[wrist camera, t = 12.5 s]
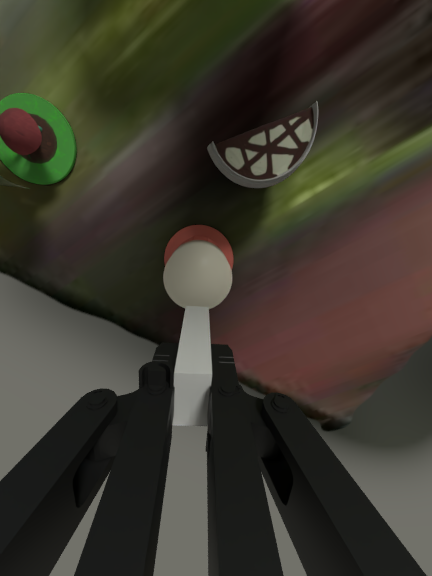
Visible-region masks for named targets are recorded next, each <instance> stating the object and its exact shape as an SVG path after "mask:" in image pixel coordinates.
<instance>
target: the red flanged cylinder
mask: <svg viewBox="0 0 432 576" xmlns="http://www.w3.org/2000/svg"><path fill="white" fill-rule="evenodd" d="M192 240H205V241H208V242H211V243H213V244H214V245H216V246H217V247H218V248H219V249H220V250H221V251H222V252H223V253H224V255H225V257H226V259H227V261H228V263H229V265H230V268H231V270H232V267H233V252H232V248H231V246H230V244H229V242H228V240H227V239H226V238H225V237H224V235H223V234H221V233H220V232H219V231H218V230H216V229H214V228H212V227H209V226H206V225H191V226H188V227H185V228H183V229H181V230H179V231H178V232H177V233H176V234H175V235H174V236H173V237H172V238H171V239H170V241H169V242H168V244H167V247H166V250H165V255H164V263H165V266H166V264H167V262H168V260H169V258H170V257H171V256H172V254H173V253H174V251H175V250H176V249H177V248H178V247H179V246H180V245H182V244H184V243H186V242H188V241H192Z"/></svg>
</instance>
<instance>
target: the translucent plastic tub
mask: <svg viewBox="0 0 432 576" xmlns="http://www.w3.org/2000/svg"><path fill="white" fill-rule="evenodd" d="M76 153H77V148H76V141H75V137H74V133H73V131H72V128H71V126H70V124H69V123H68V121H67V120H66V118H65V117H64V116H63V114H62V113H61V112H60V111H59V110H58V109H57V108H56V107H55V106H53V105H52V104H51V103H49V102H48V101H46V100H45V99H43V98H41V97H38V96H36V95H33V94H28V93H16V94H12V95H9V96H7V97H5V98H4V99H2V100H1V101H0V159H1V161H2V162H3V163H4V165H5V166H6V167H7V168H8V169H9V170H10V171H11V172H13V173H14V174H15V175H17V176H18V177H20V178H22V179H24V180H26V181H28V182H31V183H36V184H43V185H45V184H53V183H56V182H59V181H61V180H62V179H64V178H65V177H66V176H67V175H68V174H69V173H70V171H71V170H72V168H73V166H74V163H75V160H76ZM0 185H5V186H16V187H22V188H26V187H23V186H19V185H17V184H14V183H12V182H10V181H8V180H6V179H4V178H3V177H1V176H0ZM29 189H30V188H29Z"/></svg>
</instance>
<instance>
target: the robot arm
mask: <svg viewBox="0 0 432 576" xmlns="http://www.w3.org/2000/svg"><path fill="white" fill-rule="evenodd" d="M207 424H208V431H207V441H206V451H207V487H208V488H207V490H208V492H207V494H208V573H209V574H208V575H209V576H283V571H282V567H281V562H280V558H279V553H278V548H277V543H276V539H275V534H274V530H273V525H272V520H271V516H270V511H269V506H268V502H267V497H266V492H265V488H264V483H263V479H262V474H263V477H264V479H265V481H266V483H267V486H268V488H269V490H270V492H271V495H272V497H273V499H274V501H275V504H276V506H277V508H278V511H279V513H280V515H281V517H282V519H283V522H284V524H285V526H286V529H287V531H288V533H289V536H290V538H291V540H292V542H293V545H294V547H295V549H296V551H297V554H298V556H299V558H300V560H301V563H302V565H303V567H304V569H305V571H306V574H307V576H426V574H425V573H424V572H423V570H422V569H421V568H420V566H419V565H418V564H417V562H416V561H415V560H414V558H413V557H412V556H411V555H410V553H409V552H408V551H407V549H406V548H405V547H404V545H403V544H402V543H401V541H400V540H399V539H398V537H397V536H396V535H395V533H394V532H393V531H392V530H391V528H390V527H389V526H388V524H387V523H386V522H385V520H384V519H383V518H382V516H381V515H380V514H379V512H378V511H377V510H376V508H375V507H374V506H373V504H372V503H371V502H370V500H369V499H368V498H367V497H366V495H365V494H364V493H363V491H362V490H361V489H360V487H359V486H358V485H357V483H356V482H355V481H354V479H353V478H352V477H351V476H350V474H349V473H348V471H347V470H346V469H345V468H344V466H343V465H342V464H341V462H340V461H339V460H338V458H337V457H336V456H335V454H334V453H333V452H332V450H331V449H330V448H329V446H328V445H327V444H326V442H325V441H324V440H323V439H322V437H321V436H320V435H319V433H318V432H317V431H316V429H315V428H314V427H313V426H312V424H311V423H310V421H309V420H308V419H307V417H306V416H305V415H304V413H303V412H302V411H301V410H300V408H299V407H298V406H297V404H296V403H295V402H294V401H293V400H292V399H291V398H290V397H288V396H286V395H284V394H281V393H270V394H267V395H266V396H265V397H264V399H260V398H257V397H253V396H251V395H249V394H247V393H246V392H244V390H243V389H242V386H241V385H239V383H238V378H237V373H236V368H235V363H234V358H233V353H232V350H231V349H230V347H229V346H228V345H220V344H211V342H210V323H209V307H199V306H186V307H185V313H184V319H183V325H182V330H181V336H180V342H179V343H161V344H160V345H159V346H158V347H157V348H156V351H155V354H154V357H153V361H152V362H149V363H146V364H145V365H143V366H142V367H141V368H140V370H139V389H138V390H136V391H134V392H133V393H129V394H126V395H121V396H117V395H116V394H115V392H114V391H112V390H109V389H97V390H93V391H91V392H89V393H87V394H85V395H84V396H83V397H82V398H81V399H80V400H79V401H78V402H77V403H76V404H75V405H74V406H73V407H72V408H71V409H70V410H69V411H68V412H67V413H66V414H65V415H64V416H63V417H62V418H61V419H60V420H59V421H58V422H57V423H56V424H55V426H53V427H52V428H51V429H50V430H49V432H47V434H46V435H45V436H44V437H43V438H42V439H41V440H40V441H39V442H38V443H37V444H36V445H35V446H34V447H33V448H32V449H31V450H30V451H29V452H28V453H27V454H26V455H25V456H24V457H23V458H22V460H20V462H18V464H16V465H15V467H14V468H13V469H12V470H11V471H10V472H9V473H8V474H7V475H6V476H5V477H4V478H3V479H2V480H1V481H0V576H49V575H50V573H51V571H52V569H53V568H54V566H55V564H56V563H57V561H58V559H59V558H60V556H61V554H62V552H63V551H64V549H65V547H66V546H67V544H68V542H69V540H70V539H71V537H72V535H73V533H74V532H75V530H76V528H77V527H78V525H79V523H80V522H81V520H82V518H83V517H84V515H85V513H86V511H87V510H88V508H89V506H90V505H91V503H92V501H93V499H94V498H95V496H96V494H97V492H98V491H99V489H100V487H101V486H102V484H103V482H104V481H105V478H106V477H107V476H108V474H109V472H110V474H109V477H108V479H107V482H106V485H105V488H104V491H103V494H102V497H101V500H100V502H99V505H98V508H97V511H96V514H95V517H94V520H93V523H92V525H91V528H90V532H89V534H88V538H87V540H86V543H85V546H84V549H83V551H82V554H81V557H80V560H79V563H78V566H77V569H76V572H75V574H74V576H153V572H154V565H155V558H156V550H157V543H158V535H159V528H160V520H161V513H162V505H163V498H164V490H165V483H166V475H167V468H168V460H169V453H170V445H171V438H172V425H174V426H177V425H178V426H207ZM110 470H111V471H110ZM261 472H262V474H261Z"/></svg>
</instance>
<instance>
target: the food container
mask: <svg viewBox="0 0 432 576" xmlns="http://www.w3.org/2000/svg"><path fill="white" fill-rule="evenodd" d="M317 123H318V103H317V101H316V102H315V103H314V104H313V105H312V106H310V107H309V108H307V109H304V110H302V111H300V112H298V113H295V114H292V115H290V116H287V117H284V118H282V119H279V120H276V121H273V122H270V123H267V124H265V125H262V126H260V127H257V128H255V129H252V130H250V131H247V132H245V133H242V134H240V135H237V136H235V137H232V138H229V139H227V140H224V141H222V142H219V143H217V144H215V145H214V142H213V141H212V143H211V144H209V146H208V147H207V149H208V152H209V154H210V157H211V158H212V160H213V162H214V164H215V165H216V166H217V168H218V169H219V170H220V171H221V173H223V174H224V175H225V176H226V177H227V178H228V179H230V180H231V181H233V182H234V183H237V184H239V185H241V186H245V187H249V188H265V187H269V186H273V185H275V184H277V183H279V182H282V181H283V180H284V179H286V178H287V177H289V176H290V175H291V174H292V173H293V172H294V171H295V170H296V169H297V168H298V167H299V165H300V164H301V163H302V162H303V160H304V159H305V157H306V155H307V154H308V152H309V150H310V148H311V146H312V144H313V141H314V137H315V134H316V129H317Z"/></svg>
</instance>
